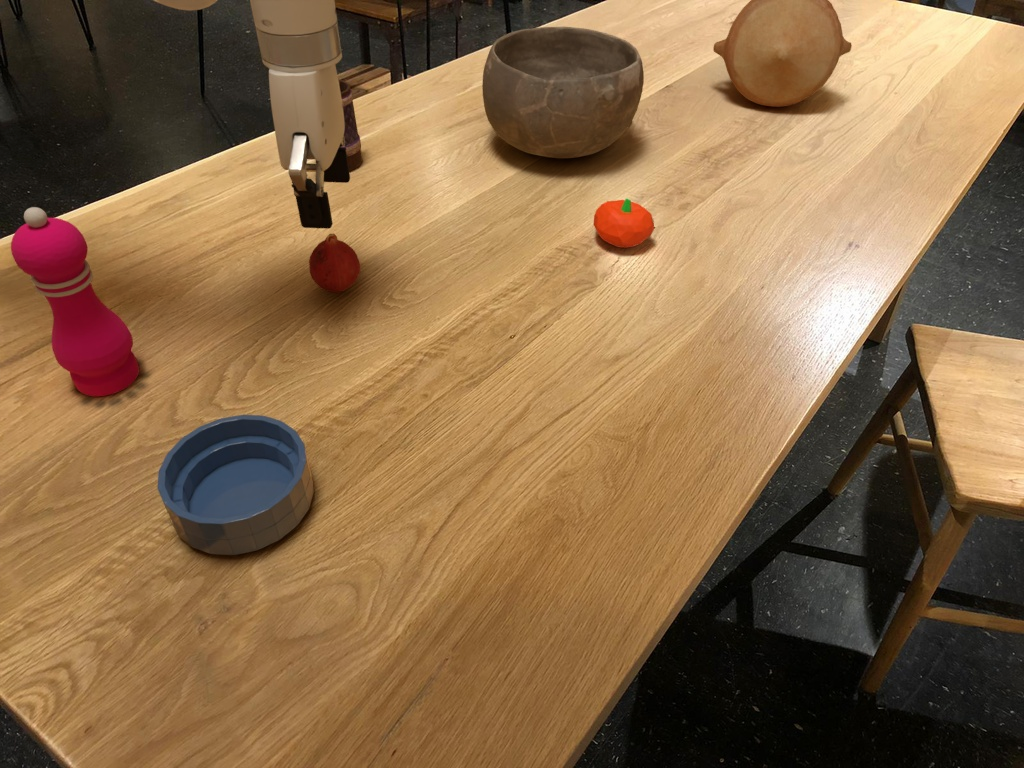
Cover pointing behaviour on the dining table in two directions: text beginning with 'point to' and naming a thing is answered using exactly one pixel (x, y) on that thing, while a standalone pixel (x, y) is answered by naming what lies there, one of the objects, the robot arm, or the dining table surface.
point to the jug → (782, 49)
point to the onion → (334, 265)
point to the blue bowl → (236, 484)
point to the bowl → (561, 90)
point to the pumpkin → (623, 223)
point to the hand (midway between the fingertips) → (327, 203)
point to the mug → (350, 128)
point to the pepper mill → (75, 305)
